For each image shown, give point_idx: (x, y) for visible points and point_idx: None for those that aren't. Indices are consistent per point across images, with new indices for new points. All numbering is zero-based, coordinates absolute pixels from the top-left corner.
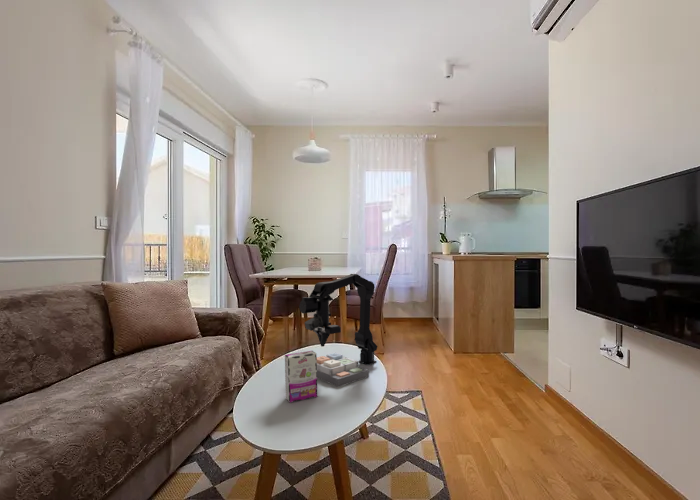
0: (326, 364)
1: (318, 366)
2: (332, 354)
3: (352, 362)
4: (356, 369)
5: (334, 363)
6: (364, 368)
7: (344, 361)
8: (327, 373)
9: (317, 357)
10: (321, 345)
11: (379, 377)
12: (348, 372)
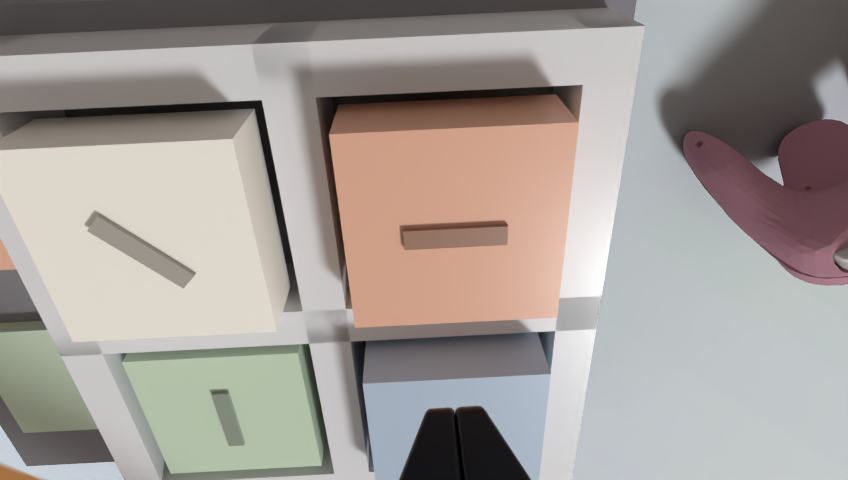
0: (147, 131)
1: (309, 34)
2: (504, 438)
3: (130, 453)
4: (44, 393)
5: (19, 229)
6: (86, 462)
7: (219, 414)
8: (63, 34)
9: (559, 204)
10: (460, 427)
11: (9, 453)
12: (19, 290)
